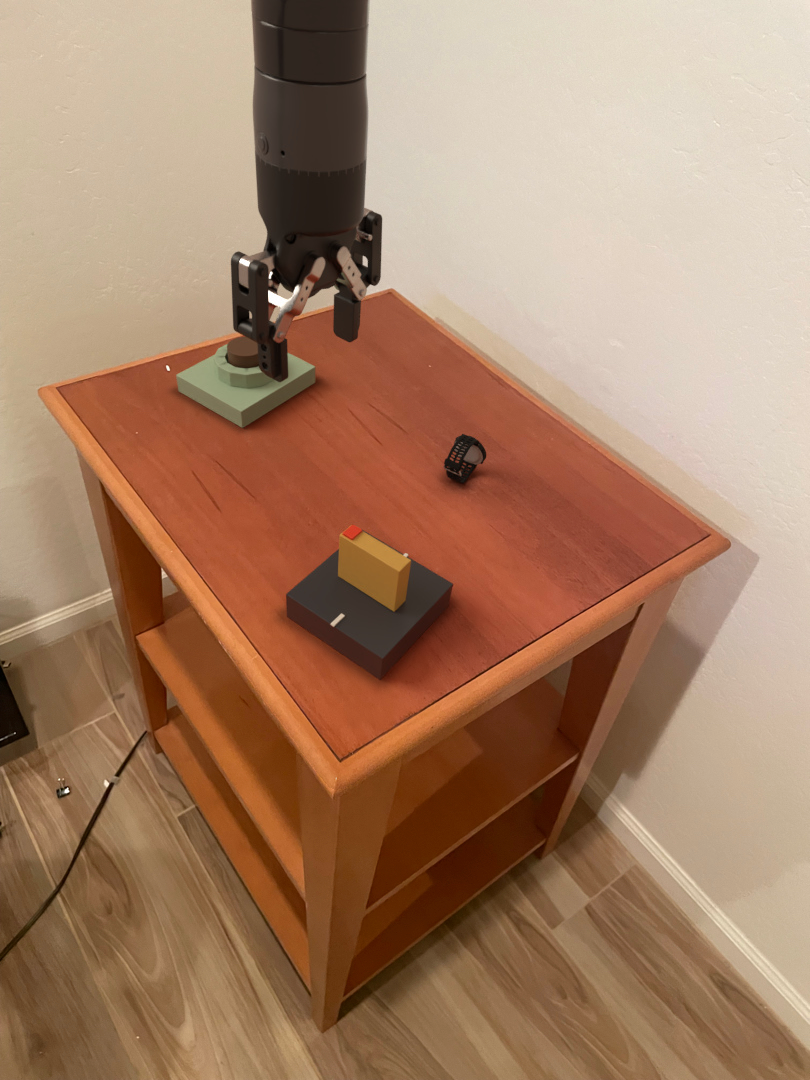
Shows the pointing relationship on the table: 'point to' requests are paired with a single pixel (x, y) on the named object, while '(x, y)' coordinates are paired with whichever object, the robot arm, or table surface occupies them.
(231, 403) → the doorbell
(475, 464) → the smartwatch
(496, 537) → the table surface
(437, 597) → the plate
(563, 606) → the table surface
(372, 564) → the lock knob
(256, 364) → the bell button
